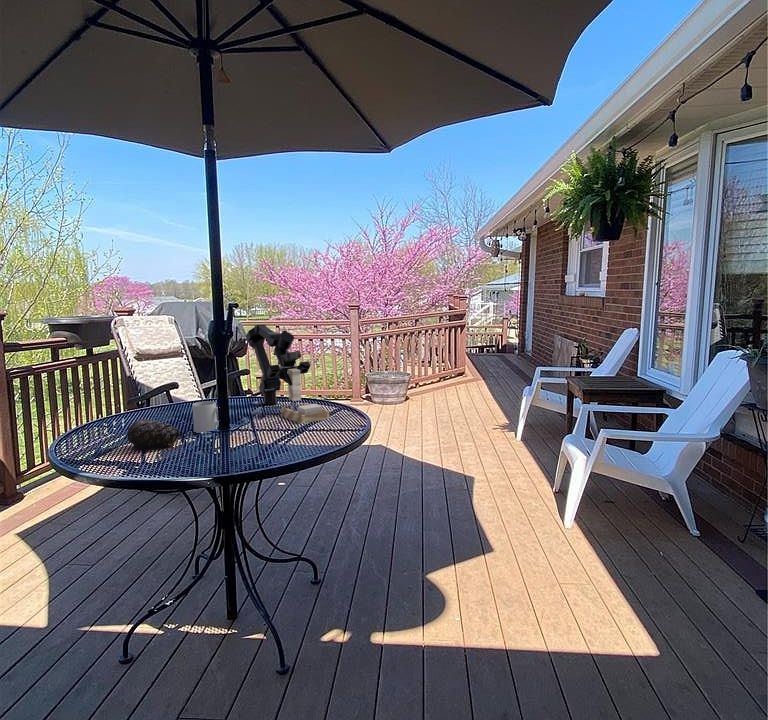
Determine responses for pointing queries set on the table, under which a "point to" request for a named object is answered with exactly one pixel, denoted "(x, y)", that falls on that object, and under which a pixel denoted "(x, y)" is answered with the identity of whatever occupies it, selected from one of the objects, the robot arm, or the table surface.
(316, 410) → the offcut top
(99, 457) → the table surface
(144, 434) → the pine cone
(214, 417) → the mug
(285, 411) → the tray
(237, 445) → the table surface
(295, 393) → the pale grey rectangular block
